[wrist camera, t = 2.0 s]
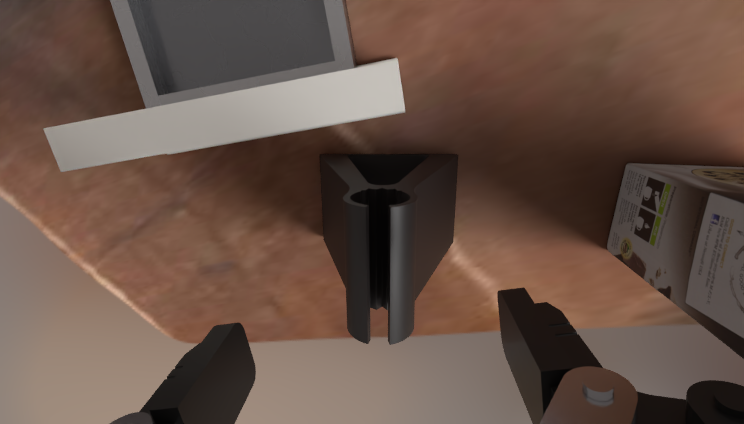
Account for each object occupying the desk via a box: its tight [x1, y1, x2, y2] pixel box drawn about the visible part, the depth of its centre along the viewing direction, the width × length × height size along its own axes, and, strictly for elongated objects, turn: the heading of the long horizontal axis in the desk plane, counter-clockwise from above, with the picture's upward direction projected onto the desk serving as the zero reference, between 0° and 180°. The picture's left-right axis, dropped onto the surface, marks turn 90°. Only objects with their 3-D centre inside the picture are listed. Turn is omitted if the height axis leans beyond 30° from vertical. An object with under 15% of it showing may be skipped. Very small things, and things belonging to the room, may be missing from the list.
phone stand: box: [320, 154, 458, 345], centre depth 21 cm, size 9×6×12 cm, turn 90°
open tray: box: [110, 0, 357, 109], centre depth 23 cm, size 13×10×2 cm
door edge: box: [44, 58, 405, 172], centre depth 21 cm, size 16×3×9 cm, turn 100°
